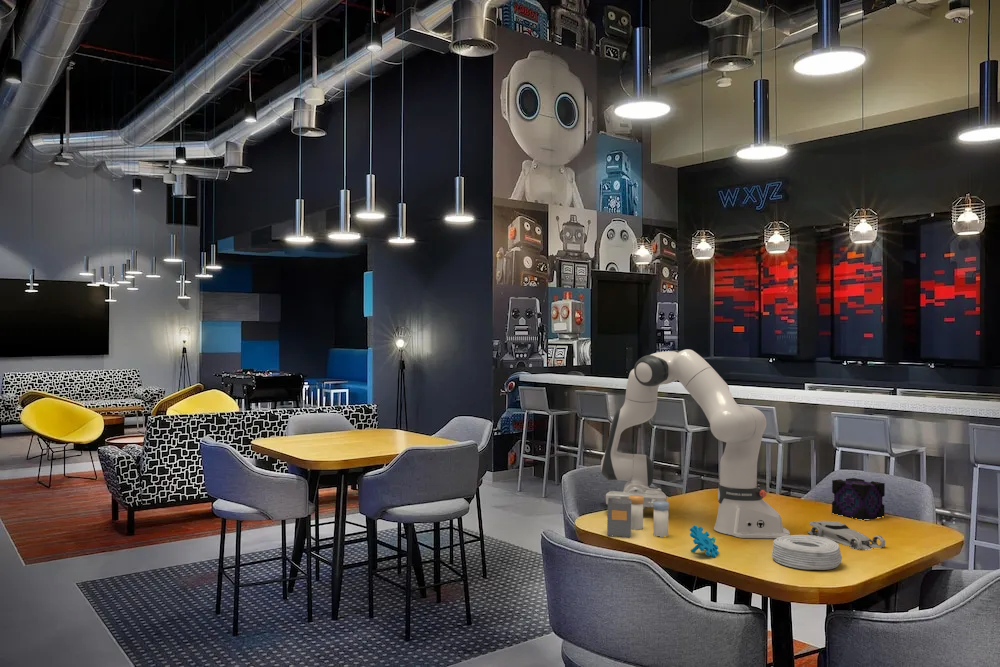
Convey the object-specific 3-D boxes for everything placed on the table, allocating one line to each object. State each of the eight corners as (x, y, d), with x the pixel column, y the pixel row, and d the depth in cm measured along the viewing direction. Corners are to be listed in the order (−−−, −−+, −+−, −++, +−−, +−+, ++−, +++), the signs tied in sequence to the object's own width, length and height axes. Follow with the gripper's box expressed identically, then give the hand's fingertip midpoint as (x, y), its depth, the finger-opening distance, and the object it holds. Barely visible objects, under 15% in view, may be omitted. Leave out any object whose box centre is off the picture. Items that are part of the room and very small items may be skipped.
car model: (859, 552, 222) (859, 534, 222) (798, 533, 245) (798, 517, 245) (888, 549, 226) (888, 532, 226) (826, 531, 248) (826, 515, 249)
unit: (630, 531, 240) (631, 498, 241) (630, 537, 232) (631, 504, 232) (608, 529, 242) (608, 497, 242) (607, 536, 233) (607, 502, 233)
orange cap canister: (642, 527, 247) (643, 495, 247) (643, 530, 242) (643, 498, 242) (628, 526, 247) (628, 494, 248) (628, 529, 243) (628, 497, 243)
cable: (832, 557, 215) (832, 535, 215) (849, 575, 198) (850, 551, 198) (766, 553, 218) (767, 531, 218) (778, 570, 201) (778, 546, 201)
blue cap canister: (668, 534, 238) (668, 501, 238) (669, 537, 233) (669, 504, 233) (652, 533, 238) (653, 500, 238) (653, 536, 234) (653, 503, 234)
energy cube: (853, 511, 279) (853, 477, 280) (884, 517, 269) (884, 483, 269) (831, 514, 273) (832, 480, 274) (863, 521, 263) (863, 485, 263)
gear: (707, 555, 207) (686, 523, 213) (692, 567, 210) (672, 536, 216) (728, 554, 215) (707, 523, 221) (713, 566, 218) (693, 535, 223)
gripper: (605, 485, 271) (604, 492, 258) (665, 488, 268) (667, 495, 254) (605, 503, 271) (604, 511, 258) (665, 506, 268) (667, 515, 254)
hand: (636, 503), depth 256 cm, fingers open, 8 cm apart
